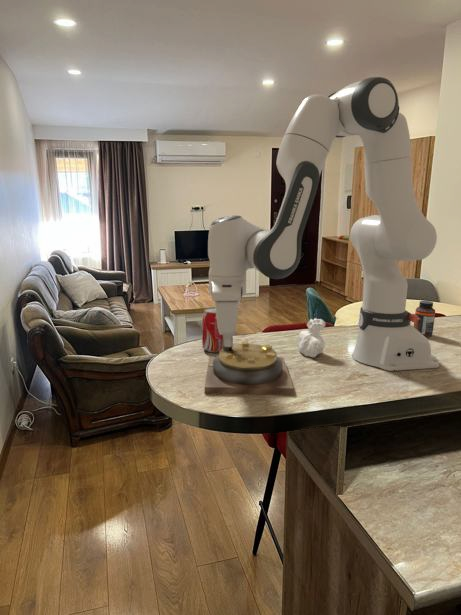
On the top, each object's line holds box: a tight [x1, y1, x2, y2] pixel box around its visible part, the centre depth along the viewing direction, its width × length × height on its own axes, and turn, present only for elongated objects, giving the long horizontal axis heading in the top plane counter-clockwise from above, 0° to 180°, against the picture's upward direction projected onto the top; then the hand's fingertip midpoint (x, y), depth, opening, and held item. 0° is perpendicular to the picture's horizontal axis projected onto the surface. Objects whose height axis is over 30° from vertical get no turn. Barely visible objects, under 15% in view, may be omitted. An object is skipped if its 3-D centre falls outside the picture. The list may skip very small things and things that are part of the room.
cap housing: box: [204, 354, 295, 395], centre depth 108 cm, size 20×20×4 cm
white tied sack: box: [296, 317, 326, 359], centre depth 125 cm, size 12×8×11 cm
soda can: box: [201, 307, 223, 353], centre depth 126 cm, size 7×7×12 cm
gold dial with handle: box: [218, 335, 278, 371], centre depth 106 cm, size 14×14×9 cm
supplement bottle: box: [413, 300, 436, 338], centre depth 143 cm, size 6×6×11 cm
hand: (228, 341), depth 107 cm, fingers open, 5 cm apart
